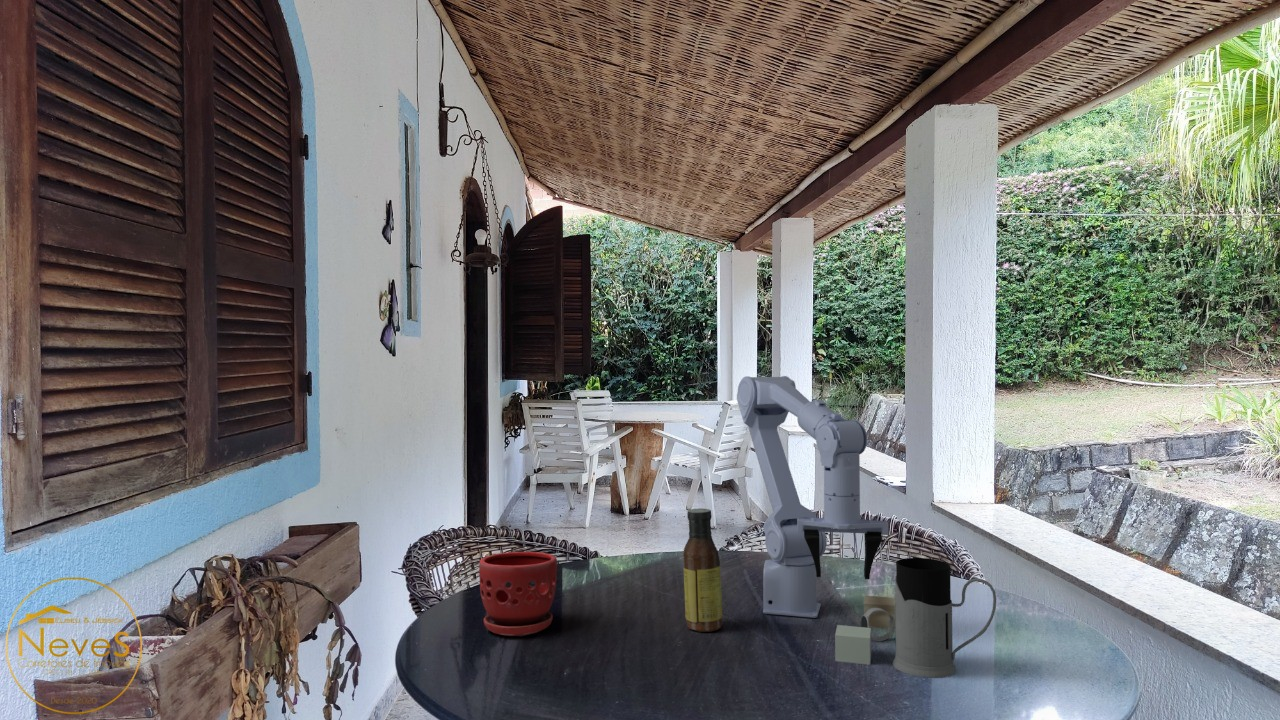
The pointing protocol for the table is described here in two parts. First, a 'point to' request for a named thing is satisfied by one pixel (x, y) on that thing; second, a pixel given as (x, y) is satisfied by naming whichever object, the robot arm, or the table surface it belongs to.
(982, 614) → the table surface
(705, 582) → the sauce bottle
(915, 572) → the glass holder
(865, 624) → the wristwatch
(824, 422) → the robot arm
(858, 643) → the sage block
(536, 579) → the plant pot
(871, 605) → the birch block
